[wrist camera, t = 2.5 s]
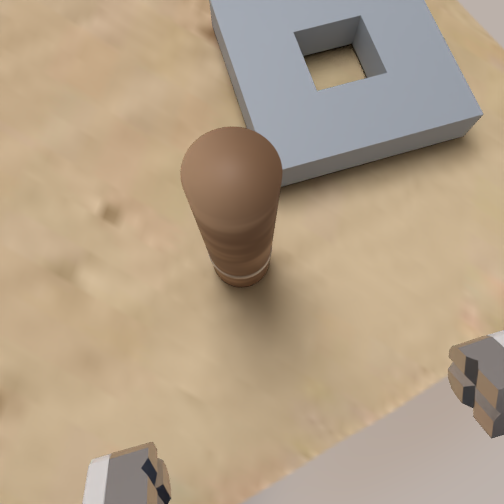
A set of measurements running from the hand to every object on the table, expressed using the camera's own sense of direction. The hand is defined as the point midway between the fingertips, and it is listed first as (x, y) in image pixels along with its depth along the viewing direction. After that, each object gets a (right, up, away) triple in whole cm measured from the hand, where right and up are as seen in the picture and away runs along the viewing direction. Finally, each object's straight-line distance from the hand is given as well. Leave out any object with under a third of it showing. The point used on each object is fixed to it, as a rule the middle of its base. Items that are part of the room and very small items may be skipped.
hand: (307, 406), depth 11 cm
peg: (-2, +4, +15) cm, 15 cm away
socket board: (+4, +17, +18) cm, 25 cm away
